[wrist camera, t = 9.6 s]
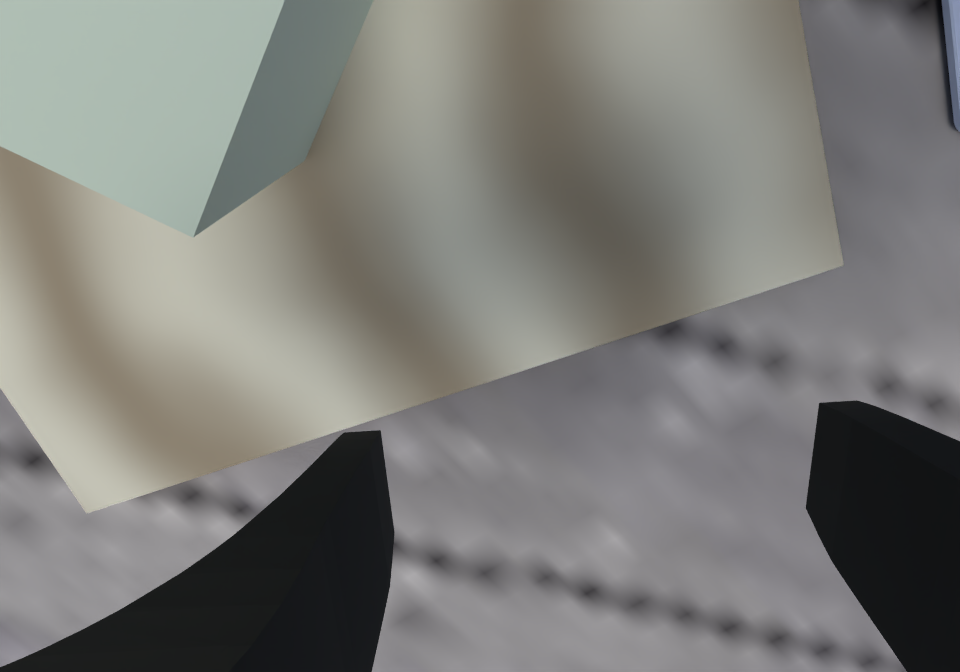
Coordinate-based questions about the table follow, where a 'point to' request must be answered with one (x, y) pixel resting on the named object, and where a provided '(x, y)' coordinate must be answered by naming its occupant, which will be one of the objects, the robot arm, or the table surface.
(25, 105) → the carton
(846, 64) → the table surface
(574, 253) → the shelf board
